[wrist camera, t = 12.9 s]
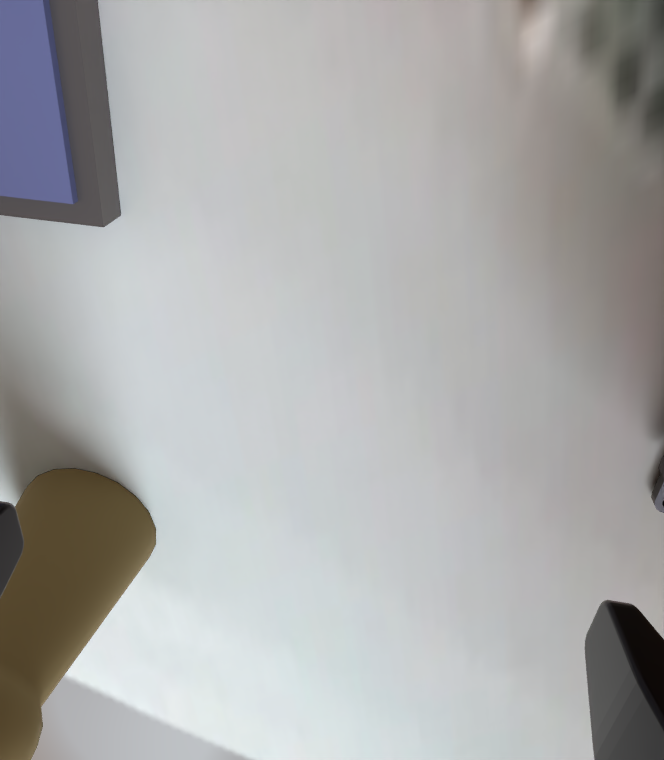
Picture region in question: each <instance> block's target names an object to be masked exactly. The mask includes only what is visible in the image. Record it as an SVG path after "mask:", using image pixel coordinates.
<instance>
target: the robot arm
mask: <svg viewBox="0 0 664 760" xmlns="http://www.w3.org/2000/svg"><path fill="white" fill-rule="evenodd" d="M659 470H660V472H661V474H660V476H659V478H658V481H657V483H656V485H655V487H654V489H653V492H652V496H651V498H652V500H653V502H654V505H655V507H656V509H657V510H659V511H660V512H663V513H664V456H663V458H662V461H661V463H660V465H659ZM23 547H24V538H23V534H22V530H21V526H20V522H19V519H18V515H17V511H16V508H15V507H14V506H13V505H12V504H11V503H8V502H2V501H0V598H1V596H2V594H3V592H4V590H5V588H6V586H7V584H8V582H9V580H10V577H11V575H12V573H13V571H14V569H15V567H16V565H17V563H18V561H19V559H20V557H21V555H22V552H23ZM585 659H586V671H587V683H588V694H589V706H590V718H591V730H592V741H593V751H594V759H595V760H664V639H663V638H662V637H661V636H660V635H659V633H658V632H657V631H656V630H655V629H654V627H653V626H652V625H651V624H650V623H649V621H648V620H647V619H646V618H645V617H644V616H643V614H642V613H641V612H640V611H639V610H638V609H637V608H636V607H635V606H634V605H632V604H629V603H623V602H617V601H611V600H605V601H603V602H602V603H601V605H600V606H599V608H598V611H597V613H596V615H595V617H594V619H593V622H592V624H591V626H590V628H589V630H588V633H587V635H586V640H585Z"/></svg>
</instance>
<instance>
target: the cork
mask: <svg viewBox="0 0 664 760" xmlns="http://www.w3.org/2000/svg"><path fill="white" fill-rule="evenodd" d="M15 508H16V511H17V515H18V519H19V522H20V526H21V530H22V534H23V538H24V547H23V552H22V555H21V557H20V559H19V561H18V563H17V565H16V567H15V569H14V571H13V573H12V575H11V577H10V580H9V582H8V584H7V586H6V588H5V590H4V592H3V594H2V596H1V598H0V760H31V758H32V756H33V754H34V752H35V750H36V748H37V745H38V742H39V738H40V734H41V731H42V727H43V722H42V712H41V706H42V705H43V704H44V702H45V701H46V700H47V698H48V697H49V695H50V694H51V693H52V691H53V690H54V688H55V687H56V686H57V684H58V683H59V682H60V680H61V679H62V677H63V676H64V675H65V673H66V672H67V671H68V669H69V668H70V666H71V665H72V664H73V662H74V661H75V659H76V658H77V657H78V655H79V654H80V653H81V651H82V650H83V648H84V647H85V646H86V644H87V643H88V641H89V640H90V639H91V637H92V636H93V635H94V633H95V632H96V630H97V629H98V628H99V626H100V625H101V623H102V622H103V621H104V619H105V618H106V617H107V615H108V614H109V612H110V611H111V610H112V608H113V607H114V605H115V604H116V603H117V601H118V600H119V599H120V597H121V596H122V594H123V593H124V592H125V590H126V589H127V587H128V586H129V585H130V583H131V582H132V581H133V579H134V578H135V576H136V575H137V574H138V572H139V571H140V570H141V568H142V567H143V565H144V564H145V563H146V561H147V560H148V558H149V557H150V555H151V553H152V551H153V549H154V547H155V545H156V528H155V526H154V523H153V521H152V519H151V516H150V514H149V512H148V511H147V509H146V508H145V507H144V506H143V505H142V503H141V502H140V501H139V500H138V499H137V497H136V496H134V495H133V494H132V493H131V492H129V491H128V490H127V489H125V488H124V487H123V486H121V485H120V484H119V483H117V482H115V481H112V480H110V479H108V478H106V477H104V476H102V475H99V474H97V473H93V472H89V471H84V470H79V469H54V470H51V471H49V472H46V473H44V474H41V475H38V476H37V477H36V478H35V479H34V480H33V481H32V482H31V483H30V484H29V485H28V486H27V488H26V489H25V491H24V493H23V494H22V496H21V498H20V500H19V501H18V503H17V505H16V506H15Z"/></svg>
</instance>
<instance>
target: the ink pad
mask: <svg viewBox="0 0 664 760" xmlns="http://www.w3.org/2000/svg"><path fill="white" fill-rule="evenodd" d="M0 215H5V216H14V217H22V218H30V219H39V220H47V221H56V222H64V223H72V224H81V225H89V226H98V227H105V226H106V225H108V224H109V223H111V222H112V221H113V220H115V219H116V218H118V217H119V216H121V212H120V203H119V194H118V185H117V176H116V167H115V158H114V149H113V140H112V130H111V121H110V112H109V103H108V94H107V85H106V76H105V67H104V58H103V48H102V39H101V30H100V21H99V12H98V3H97V0H0Z"/></svg>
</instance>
